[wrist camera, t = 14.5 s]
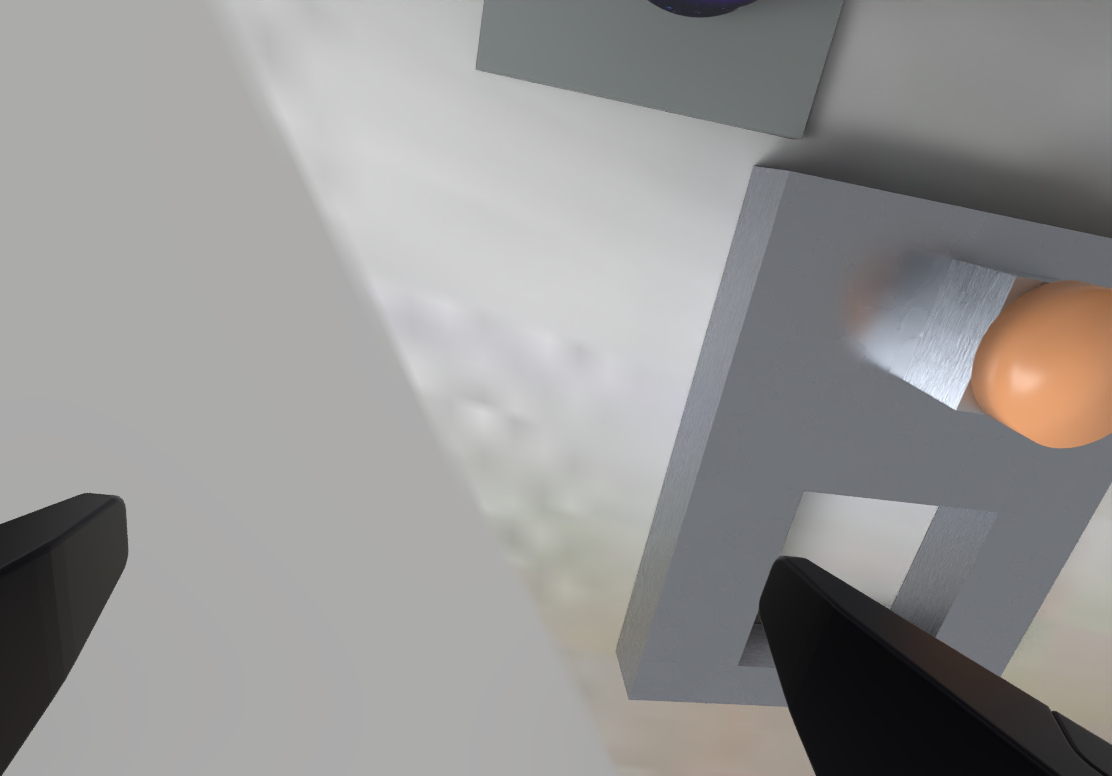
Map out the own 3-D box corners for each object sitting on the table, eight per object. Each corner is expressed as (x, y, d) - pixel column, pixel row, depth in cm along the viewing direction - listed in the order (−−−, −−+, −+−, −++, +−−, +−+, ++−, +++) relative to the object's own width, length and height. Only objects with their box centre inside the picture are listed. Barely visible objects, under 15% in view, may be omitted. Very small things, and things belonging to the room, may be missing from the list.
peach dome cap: (1107, 284, 19) (1202, 307, 16) (1039, 416, 20) (1118, 456, 18) (980, 259, 18) (1060, 280, 16) (920, 399, 20) (985, 438, 17)
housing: (1159, 250, 23) (1331, 281, 18) (939, 670, 30) (1023, 768, 25) (753, 165, 20) (836, 176, 16) (615, 651, 27) (644, 757, 23)
